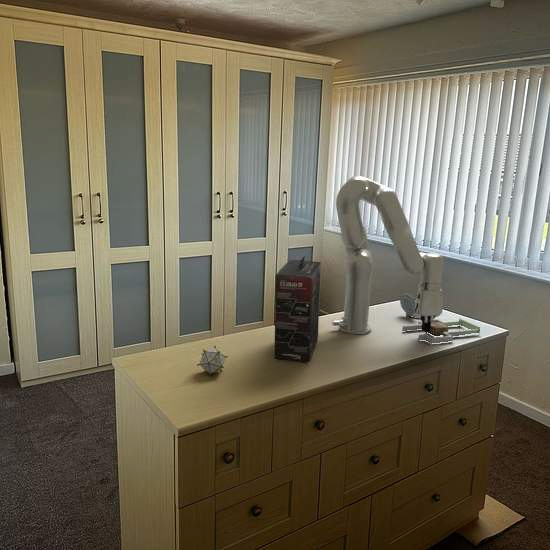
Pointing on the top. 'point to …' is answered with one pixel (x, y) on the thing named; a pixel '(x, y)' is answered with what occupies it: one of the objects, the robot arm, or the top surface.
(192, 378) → the top surface
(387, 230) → the robot arm
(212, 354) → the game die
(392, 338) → the top surface
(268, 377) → the top surface
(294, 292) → the headset box
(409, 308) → the pocket watch
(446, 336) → the box
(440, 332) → the walnut block
